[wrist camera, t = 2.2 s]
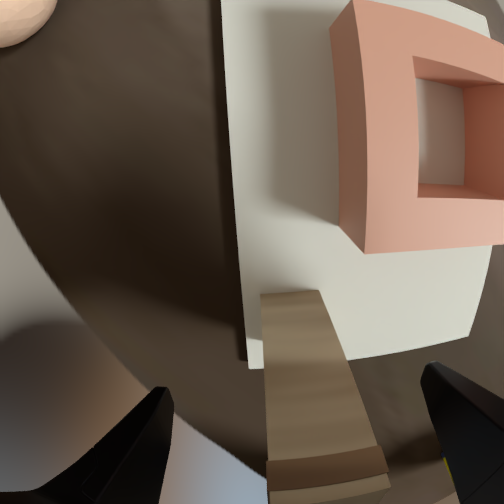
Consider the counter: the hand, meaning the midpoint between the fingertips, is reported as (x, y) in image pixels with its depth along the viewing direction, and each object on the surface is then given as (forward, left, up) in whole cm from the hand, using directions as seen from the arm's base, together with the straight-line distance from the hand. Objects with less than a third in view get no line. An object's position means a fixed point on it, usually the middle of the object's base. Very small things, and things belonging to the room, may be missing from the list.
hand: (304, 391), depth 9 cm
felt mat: (+6, -4, -5) cm, 9 cm away
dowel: (0, 0, -4) cm, 4 cm away
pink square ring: (+8, -6, -4) cm, 11 cm away
